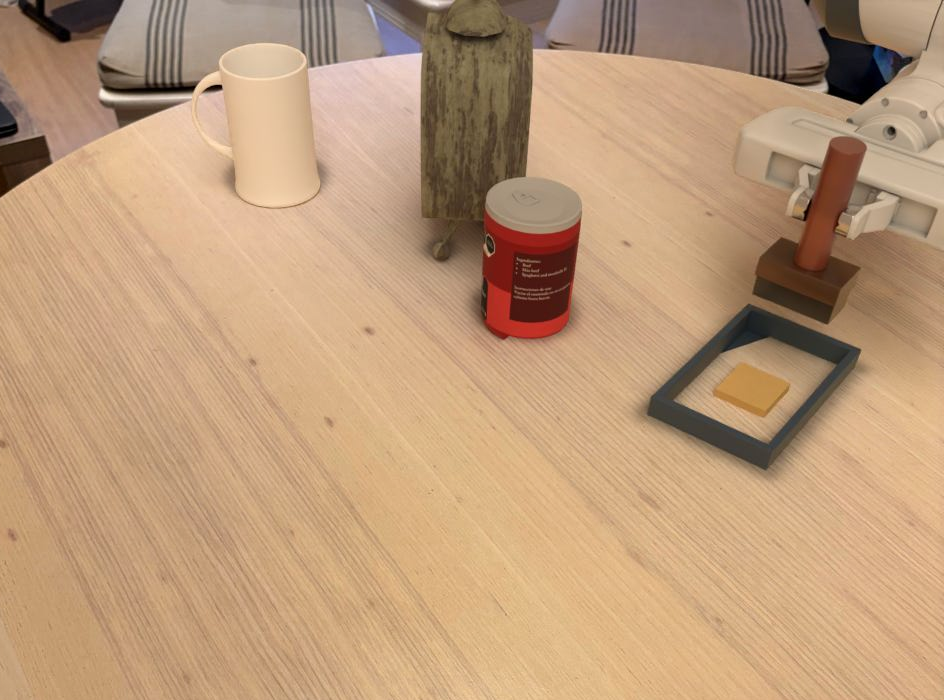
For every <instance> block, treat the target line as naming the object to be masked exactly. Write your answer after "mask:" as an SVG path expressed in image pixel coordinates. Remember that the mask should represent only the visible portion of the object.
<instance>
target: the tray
mask: <svg viewBox="0 0 944 700" xmlns="http://www.w3.org/2000/svg"><path fill="white" fill-rule="evenodd" d="M767 338H772V339H774V340H776V341H779V342H781V343H783V344H786V345H788V346H791V347H793V348H796V349H798V350H800V351H803V352H805V353H808V354H809V355H812V356H814V357H817V358H820V359H822V360H824V361H827V362H829V363H831V364H834V365H836V366H835V367H834V369H833V370H832V371H830V373H828V375H827V376H826V377H825V379H823V381H822V382H821V383H820V384H819V386H818V387H817V388H816V389H815V390H814V391H813V392H812V393H811V394H810V396H809V397H808V398H807V399H806V400H805V401H804V402H803V403H802V405H801V406H800V407H799V408H798V409H797V410H796V411H795V412H794V414H793V415H792V416H791V417H790V418H789V419H788V420H787V422H786V423H785V424H784V425H783V426H782V427H781V429H779V431H777V433H775V435H774V436H773V438H772V439H771V440H770V441H769V442H768V443H766V442H764V441H762V440H760V439H758V438H756V437H753V436H751V435H749V434H747V433H745V432H743V431H741V430H738V429H736V428H733V427H731V426H730V425H727V424H725V423H723V422H722V421H719V420H716V419H714V418H712V417H710V416H707V415H705V414H704V413H702V412H699V411H698V410H695V409H693V408H690V407H688V406H686V405H684V404H682V403H679V402H677V401H675V399H676V398H677V397H678V396H679V395H680V394H681V393H682V392H683V391H684V390H685V389H686V388H687V387H688V386H689V385H690V384H691V383H692V382H693V381H695V380H696V378H697V377H698V376H699V375H700V374H702V373H703V372H704V370H705V369H706V368H707V367H709V366H710V364H711V363H713V362H714V361H715V360H716V359H717V358H718V357H719V356H720V355H721V354H724V353H726V352H730V351H732V350H736V349H738V348H741V347H744V346H747V345H750V344H753V343H755V342H759V341H763V340H764V339H767ZM861 352H862V349H861V348H859V347H858V346H855V345H852V344H850V343H847V342H845V341H842V340H841V339H840V340H839V339H837V338H835V337H832V336H830V335H828V334H825V333H822V332H821V331H818V330H816V329H812V328H810V327H808V326H806V325H803V324H800V323H798V322H795V321H793V320H790V319H788V318H786V317H784V316H780V315H778V314H776V313H773V312H771V311H768V310H766V309H764V308H761V307H759V306H756V305H754V304H752V303H747V304H746V305H745V306H744V307H743V308H741V310H740V311H739V312H738V313H737V314H735V316H734V317H733V318H732V319H731V320H729V321H728V322H727V323H726V324H725V325H724V326H723V327H722V328H721V329H720V330H719V331H718V332H717V333H716V334H715V335H714V336H713V337H712V338H711V339H710V340H709V341H707V342H706V344H704V345H703V346H702V347H701V348H700V349H699V350H698V351H697V352H696V353H695V354H694V355H693V356H692V357H691V358H689V360H688V361H687V362H686V363H685V364H684V365H683V366H681V368H680V369H678V370H677V372H675V373H674V374H673V375H672V376H671V377H670V378H669V379H668V380H667V381H666V382H665V383H664V384H663V385H662V386H661V387H659V389H657V391H655V392H654V393H653V394H652V395H651V397H650V400H649V405H648V410H647V414H646V415H647V416H649V417H651V418H653V419H655V420H658V421H660V422H662V423H664V424H666V425H668V426H671V427H673V428H674V429H676V430H679V431H681V432H683V433H685V434H687V435H690V436H692V437H694V438H696V439H698V440H700V441H703V442H704V443H707V444H708V445H711V446H713V447H715V448H717V449H719V450H721V451H723V452H726V453H728V454H730V455H732V456H734V457H736V458H739V459H741V460H742V461H744V462H746V463H749V464H751V465H753V466H755V467H758V468H760V469H762V470H764V471H767V470H768V469H769V468H770V466H771V465H772V464H773V463H774V462H775V461H776V460H777V459H778V457H779V456H780V455H781V454H782V453H783V452H784V450H785V449H786V448H787V447H788V446H789V445H790V443H791V442H793V440H794V439H795V438H796V436H797V435H798V434H799V433H800V432H801V430H803V428H804V427H805V426H806V425H807V423H808V422H809V421H810V420H811V419H812V418H813V417H814V416H815V414H816V413H817V412H818V411H819V410H820V409H821V408H822V407H823V405H824V404H825V403H826V402H827V400H828V399H829V398H830V397H831V396H832V395H833V393H834V392H835V391H836V390H837V389H838V387H840V385H841V384H842V383H843V381H844V380H845V379H847V377H848V376H849V375H850V374H851V372H852V371H853V370H854V369H855V368H856V365H857V362H858V360H859V357H860V355H861Z"/></svg>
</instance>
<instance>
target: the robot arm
mask: <svg viewBox="0 0 944 700" xmlns="http://www.w3.org/2000/svg"><path fill="white" fill-rule="evenodd" d="M813 3H814V6H815V9H816V11H817V15H818V16H819V18H820V21H821V24H823V27H824V28H825V30H826V31H827V32H826V33H828V35H829V36H830V37H832V38H836V39H841V40H846V41H850V42H855V43H859V44H863V45H868V46H870V45H871V46H872V45H876V46H878V47H882V48H884V49H888V50H891V51H893V52H897V53H900V54H902V55H906V56H909V57H911V58H915V60H914V61H912V62H911V63H910V64H909V65H907V66H906V67H904V68H903V69H902V70H901V71H900V72H898V73H897V74H896V75H895V76H894V77H893V78H892V79H891V81H890V82H889V83H887V84H886V85H884V86H882V87H881V88H880V89H878V91H876V92H875V93H873V95H872V96H870V97H869V98H868V99H867V100H865V101H864V102H863V103H862V104H861V105H860V106H859V107H858V108H856V109H855V110H854V111H853V112H852V113H850V115H848V117H847V118H846V119H845V120H842V119H839V118H835V117H833V116H829V115H827V114H824V113H820V112H817V111H815V110H811V109H808V108H804V107H800V106H797V105H784V106H779V107H776V108H773V109H771V110H768V111H767V112H764V113H763V114H761V115H759V116H757V117H755V118H753V119H752V120H749V121H748V122H747V123H745V124H744V125H742V127H741V128H740V130H739V132H738V134H737V138H736V141H735V144H734V148H733V152H732V157H731V167H732V171H733V173H734V175H735V176H737V177H739V178H741V179H744V180H747V181H750V182H751V183H752V182H753V183H755V184H758V185H761V186H764V187H766V188H769V189H772V190H775V191H777V192H780V193H783V194H785V195H789V196H790V197H789V200H788V203H787V207H786V209H785V210H786V211H785V216H786V217H788V218H791V219H795V220H798V221H800V222H803V223H805V219H806V216H807V213H808V210H809V206H810V203H811V200H812V197H813V193H814V190H815V187H816V184H817V180H818V177H819V174H820V171H821V168H822V164H823V161H824V158H825V155H826V151H827V148H828V145H829V142H830V140H831V139H832V138H834V137H839V136H848V137H853V138H856V139H859V140H861V141H862V142H864V143H865V144H866V146H867V150H866V153H865V156H864V159H863V162H862V165H861V168H860V171H859V174H858V177H857V180H856V183H855V186H854V189H853V192H852V195H851V197H850V200H849V203H848V206H847V209H845V210H843V212H842V213H841V215H840V217H839V220H838V223H839V225H838V226H837V227H836V229H835V234H838V236H840V237H843V238H846V239H847V240H851V241H854V240H855V239H856V238H857V237H858V236H859V235H861V234H867V233H874V232H882V231H887V232H889V233H892V234H894V235H897V236H900V237H903V238H906V239H908V240H911V241H914V242H916V243H919V244H922V245H924V246H928V247H929V248H933V249H936V250H939V251H941V252H944V0H813Z"/></svg>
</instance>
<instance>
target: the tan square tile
mask: <svg viewBox="0 0 944 700" xmlns="http://www.w3.org/2000/svg"><path fill="white" fill-rule="evenodd" d="M790 387H791V382H789V381H787V380H784V379H782V378H780V377H777V376H775V375H773V374H771V373H768V372H766V371H764V370H762V369H758V368H757V367H754V366H752V365H750V364H747V363H745V362H742V361H741V362H740V363H739V364H738V365H737V366H735V368H734V369H733V370H732V371H731V372H730V373H729V374H728V375H727V376H726V377H725V378H724V379H723V380H722V381H721V382H720V383H719V384H718V385H717V386H716V387H715V389H714V392H713V397H714V398H718V399H720V400H722V401H724V402H726V403H728V404H731V405H732V406H735V407H736V408H740V409H742V410H744V411H746V412H749V413H751V414H753V415H755V416H757V417H760V418H761V419H764V418H766V417H767V415H769V413H770V412H771V411H772V410H773V409H774V407H776V405H777V404H778V403H779V402H780V401H781V400H782V399H783V398H784V397H785V396H786V394H788V392H789V391H790Z"/></svg>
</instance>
